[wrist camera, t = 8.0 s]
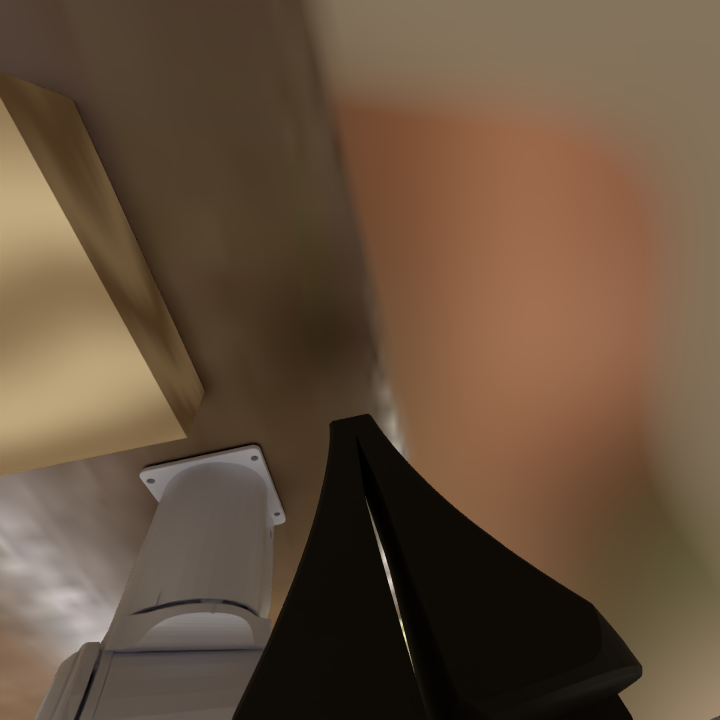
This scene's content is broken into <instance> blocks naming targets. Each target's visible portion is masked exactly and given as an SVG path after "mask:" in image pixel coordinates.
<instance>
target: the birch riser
mask: <svg viewBox="0 0 720 720" xmlns="http://www.w3.org/2000/svg"><path fill="white" fill-rule="evenodd" d="M204 393H205V391H204V388H203V386H202V384H201V382H200V380H199V377H198V375H197V373H196V371H195V369H194V366H193V364H192V362H191V360H190V358H189V355H188V353H187V351H186V349H185V346H184V344H183V342H182V340H181V338H180V335H179V333H178V331H177V329H176V327H175V324H174V322H173V320H172V318H171V316H170V313H169V311H168V309H167V307H166V304H165V302H164V300H163V298H162V296H161V293H160V291H159V289H158V287H157V285H156V282H155V280H154V278H153V276H152V274H151V271H150V269H149V267H148V265H147V263H146V260H145V258H144V256H143V254H142V251H141V249H140V247H139V245H138V243H137V240H136V238H135V236H134V234H133V232H132V229H131V227H130V225H129V223H128V221H127V218H126V216H125V214H124V212H123V209H122V207H121V205H120V203H119V201H118V198H117V196H116V194H115V192H114V190H113V187H112V185H111V183H110V181H109V179H108V176H107V174H106V172H105V170H104V168H103V165H102V163H101V161H100V159H99V156H98V154H97V152H96V150H95V148H94V145H93V143H92V141H91V139H90V137H89V134H88V132H87V130H86V128H85V126H84V123H83V121H82V119H81V117H80V114H79V112H78V110H77V108H76V106H75V103H74V101H73V99H70V98H68V97H65V96H63V95H60V94H57V93H55V92H52V91H50V90H47V89H44V88H42V87H39V86H37V85H34V84H31V83H29V82H26V81H24V80H21V79H18V78H16V77H13V76H11V75H8V74H5V73H3V72H0V476H2V475H7V474H11V473H16V472H21V471H26V470H31V469H36V468H41V467H46V466H51V465H56V464H60V463H65V462H70V461H75V460H80V459H85V458H90V457H95V456H100V455H105V454H109V453H114V452H119V451H124V450H129V449H134V448H139V447H144V446H149V445H154V444H159V443H163V442H168V441H173V440H178V439H183V438H187V436H188V434H189V431H190V429H191V426H192V424H193V421H194V418H195V416H196V413H197V411H198V408H199V406H200V403H201V400H202V398H203V395H204Z"/></svg>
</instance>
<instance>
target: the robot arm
mask: <svg viewBox="0 0 720 720" xmlns="http://www.w3.org/2000/svg"><path fill="white" fill-rule="evenodd" d="M329 426H330V444H329V453H328V460H327V466H326V472H325V477H324V482H323V486H322V490H321V495H320V499H319V503H318V507H317V511H316V514H315V518H314V521H313V525H312V528H311V531H310V534H309V537H308V540H307V543H306V546H305V549H304V552H303V555H302V558H301V561H300V563H299V566H298V569H297V572H296V574H295V577H294V580H293V582H292V585H291V587H290V590H289V592H288V595H287V597H286V600H285V602H284V604H283V607H282V609H281V612H280V614H279V616H278V619H277V621H276V623H275V626H274V628H273V631H272V633H271V622H272V620H271V619H268V618H267V615H268V612H269V609H270V605H271V597H272V572H273V544H274V526H275V525H279V524H282V523H284V522H285V521H286V515H285V513H284V510H283V507H282V505H281V502H280V500H279V497H278V494H277V492H276V489H275V486H274V484H273V481H272V478H271V476H270V473H269V470H268V468H267V465H266V462H265V460H264V457H263V455H262V452H261V449H260V447H259V446H257V445H249V446H245V447H240V448H235V449H231V450H226V451H221V452H217V453H212V454H207V455H202V456H198V457H193V458H188V459H184V460H179V461H174V462H170V463H165V464H160V465H155V466H151V467H146V468H143V469H142V470H141V472H140V475H139V476H140V478H141V480H142V481H143V482H144V484H145V485H146V486H147V488H148V489H149V490H150V492H151V493H152V495H153V496H154V497H155V499H156V500H157V501H158V503H159V504H158V507H157V509H156V512H155V514H154V517H153V520H152V522H151V525H150V527H149V530H148V532H147V535H146V537H145V540H144V542H143V545H142V547H141V550H140V552H139V555H138V557H137V560H136V562H135V565H134V567H133V570H132V572H131V575H130V577H129V580H128V582H127V585H126V588H125V590H124V593H123V595H122V598H121V600H120V603H119V605H118V608H117V610H116V613H115V615H114V618H113V620H112V623H111V625H110V628H109V630H108V632H107V634H106V635H105V637H104V639H103V640H102V642H101V644H100V642H88V643H85V644H84V645H82V647H81V648H80V649H79V651H78V652H76V653H74V654H73V655H71V656H70V657H69V658H67V659H66V660H65V661H64V662H63V663H62V664H61V666H60V667H59V669H58V671H57V673H56V675H55V677H54V679H53V681H52V683H51V685H50V687H49V689H48V691H47V693H46V695H45V697H44V699H43V701H42V703H41V705H40V707H39V709H38V711H37V714H36V716H35V718H34V720H633V718H632V716H631V714H630V713H629V711H628V709H627V708H626V706H625V705H624V703H623V702H622V700H621V699H620V697H619V696H618V693H620V692H621V691H623V690H624V689H625V688H627V687H628V686H630V685H631V684H633V683H634V682H635V681H637V680H638V679H639V678H640V677H641V676H642V666H641V664H640V663H639V662H638V660H637V659H636V658H635V656H634V655H633V653H632V652H631V651H630V649H629V648H628V647H627V645H626V644H625V642H624V641H623V640H622V638H621V637H620V636H619V635H618V634H617V632H616V631H615V630H614V629H613V628H612V626H611V625H610V624H609V623H608V622H607V620H605V618H604V617H603V616H602V615H601V614H600V613H599V611H598V610H597V609H596V608H595V607H594V605H593V604H592V603H590V602H589V601H587V600H586V599H584V598H582V597H581V596H579V595H577V594H576V593H574V592H572V591H571V590H569V589H568V588H566V587H565V586H563V585H561V584H560V583H558V582H557V581H555V580H554V579H552V578H551V577H549V576H547V575H546V574H544V573H543V572H541V571H540V570H538V569H537V568H535V567H534V566H532V565H531V564H530V563H528V562H527V561H525V560H524V559H522V558H521V557H519V556H518V555H516V554H515V553H513V552H512V551H511V550H509V549H508V548H506V547H505V546H504V545H502V544H501V543H500V542H498V541H497V540H496V539H494V538H493V537H492V536H491V535H489V534H488V533H487V532H485V531H484V530H483V529H481V528H480V527H478V526H477V525H476V524H475V523H473V522H472V521H471V520H469V519H468V518H467V517H466V516H464V514H462V513H461V512H460V511H459V510H457V509H456V508H455V507H454V506H453V505H452V504H450V503H449V502H448V501H447V500H446V499H445V498H444V497H443V496H441V495H440V494H439V493H438V492H437V491H436V490H435V489H434V488H433V487H432V486H431V485H430V484H428V483H427V481H425V479H424V478H423V477H422V476H420V474H419V473H418V472H417V471H416V470H415V469H414V468H413V467H412V466H411V465H410V464H409V463H408V462H407V461H406V460H405V459H404V457H403V456H402V455H401V454H400V453H399V452H398V451H397V449H396V448H395V447H394V446H393V445H392V444H391V442H390V441H389V440H388V439H387V437H386V436H385V435H384V433H383V432H382V431H381V429H380V428H379V427H378V425H377V424H376V422H375V421H374V419H373V418H372V416H371V415H369V414H364V415H359V416H355V417H350V418H345V419H340V420H336V421H332V422H331V423H330V424H329ZM253 456H256V457H253ZM151 478H152V479H151ZM365 496H366V498H365ZM366 499H367V502H368V505H369V508H370V511H371V514H372V517H373V520H374V523H375V526H376V529H377V532H378V535H379V538H380V541H381V544H382V547H383V550H384V553H385V556H386V560H387V563H388V567H389V570H390V574H391V578H392V582H393V586H394V590H395V594H396V598H397V602H398V606H399V610H400V614H401V618H402V623H403V627H404V631H405V635H406V639H407V643H408V647H409V651H410V656H411V659H412V663H411V660H410V656H409V653H408V650H407V646H406V642H405V639H404V636H403V632H402V629H401V625H400V622H399V618H398V615H397V611H396V608H395V604H394V601H393V597H392V594H391V590H390V587H389V583H388V580H387V576H386V573H385V569H384V565H383V562H382V558H381V554H380V551H379V547H378V544H377V540H376V536H375V533H374V529H373V525H372V521H371V518H370V514H369V510H368V507H367V503H366ZM412 664H413V666H412ZM413 668H414V670H413ZM414 672H415V673H414ZM415 676H416V677H415ZM711 720H720V716H718V717H715V718H713V719H711Z"/></svg>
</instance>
